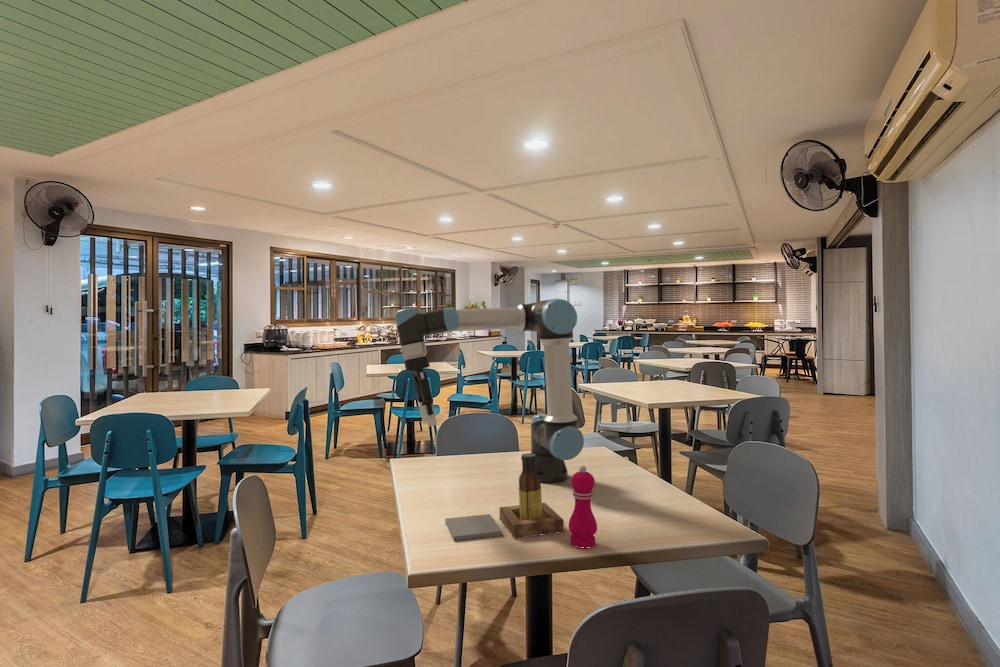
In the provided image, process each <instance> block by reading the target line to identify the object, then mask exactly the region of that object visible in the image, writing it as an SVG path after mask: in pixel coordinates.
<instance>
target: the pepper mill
mask: <svg viewBox="0 0 1000 667" xmlns="http://www.w3.org/2000/svg"><path fill="white" fill-rule="evenodd" d="M570 485H571V487H572V488H573V490H572V493H573V494H572V496H573V498H574V508H573V511H572V513H571V516H570V518H569V522H568V531H569V532H570V533H571V535H570V537H569V538H570V542H571V543H570V542H569V543H570V544H572V545H571V546H573V545H574V546H577V547H584V548H587V547H592V546H594V545H595V546H596V537H595V536H594V535H596V533H597V531H598V524H597V519H596V518H595V517H596V516H595V515H594V512H593V510H592V507H591V506H592V503H591V502H592V501H591V500H592V498H593V497H594V496H593V494H594V491H593V489H594V487H595V485H596V480H595V477H594V476H593V474H592V473H590V472H588V471H587V467H586V466H585V465H581V466H580V467H579V471H576V472H575V473H574V474H573V475H572V476H571V479H570ZM574 546H573V547H574ZM595 546H594V547H595ZM577 547H576V548H577ZM592 548H593V547H592Z"/></svg>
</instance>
